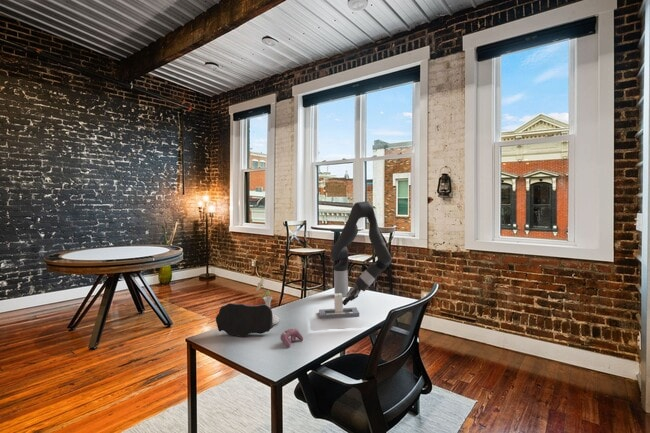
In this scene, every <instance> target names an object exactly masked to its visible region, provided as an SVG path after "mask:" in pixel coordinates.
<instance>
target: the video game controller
mask: <svg viewBox="0 0 650 433" xmlns="http://www.w3.org/2000/svg"><path fill="white" fill-rule="evenodd" d="M280 340H281V341H282V342H283V345H284V346H286V347H287V348H290V347H291V343H292V342H295V341H296V340H299V341H300V342H303V341H304V337H303V335H302V334H301V333H300V332H299V330H298V329H296V328H288V329H287V330H285V331H284V332H282V333H281V334H280Z"/></svg>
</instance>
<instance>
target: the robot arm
mask: <svg viewBox="0 0 650 433" xmlns="http://www.w3.org/2000/svg"><path fill="white" fill-rule="evenodd" d="M362 218H366V219H367V221H368V223H369V225H368V226H369V229H368V238H369V240H370V243H371V245H372V248H373V249H374V252H375V254H376V257H377V258H376V261H374V262H373V263H371V264H370V265H369V266H368V267H367V268H366V269H365V270H364V271H363V272H362V273H361V274H360V275H359V276H358V277H357V278H356V279H355V280H354V284H355V285H354V286H351V287H350V288H349V277H348V276H349V275H348V271H349V270H348V267H349V250H348V247H347V246H349V245H350V244H352V243H353V241H354V240H355V239H356V237H357V235H358V233H359V228H358V225H357V223H358V221H359V220H360V219H362ZM330 258H331V259H332V261H339V262H338V263H337V264H335V265H334V266H333V283H334V285H333V286H334V288H333V289H334V294H337V293H342V297H343V298H344V299H343V306H346V305H347V304H348V303H349V302H352V301H354V300H355V299H357V298H358V297H359V294H360V293H361V291H362V292H365V291H367V289H368V288H369V287H370V286H371V285H372V284H373V283H374V281H375V280H376V279H377V278H378V277H379V275H380V274H381V273H382V272H383V271H385V270H386V269H387V268H388V267H389V266H390V265H391V263H392V261H393V258H392V256H391V253H390V251H389V249H388V247H387V245H386V242H385V240H384V237H383V235H382V234H381V231H380V228H379V225H378V220H377V217H376V213H375V209H374V207H373V205H372V203H371V202H370V201H366V200H365V201H357V202H355V203H354V204H353V206H352V207H351V210H350V213H349V216H348V218H347V220H346V222H345V225H344V226H343V228H342V230H341V232H340V235H339V237H338V238H337V240H336V242H335V243H334V245H333V246H332V247H331V250H330Z"/></svg>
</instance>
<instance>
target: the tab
mask: <svg viewBox="0 0 650 433" xmlns="http://www.w3.org/2000/svg"><path fill="white" fill-rule="evenodd" d="M333 298H334V300H333V301H334V309H335V313H343V308H344V305H343V300H344V299H343V298H344V297H342V293H337V294H335V293H334V296H333Z"/></svg>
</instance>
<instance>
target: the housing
mask: <svg viewBox="0 0 650 433" xmlns="http://www.w3.org/2000/svg"><path fill="white" fill-rule="evenodd" d="M318 313H319V314H318V315H319V319H320V320H321V319H337V318H339V319H340V318H354V317H357V318H358V317H360V312H359V310H358V308H357V307H343V313H335V308H324V309H323V308H322V309H318Z"/></svg>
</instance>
